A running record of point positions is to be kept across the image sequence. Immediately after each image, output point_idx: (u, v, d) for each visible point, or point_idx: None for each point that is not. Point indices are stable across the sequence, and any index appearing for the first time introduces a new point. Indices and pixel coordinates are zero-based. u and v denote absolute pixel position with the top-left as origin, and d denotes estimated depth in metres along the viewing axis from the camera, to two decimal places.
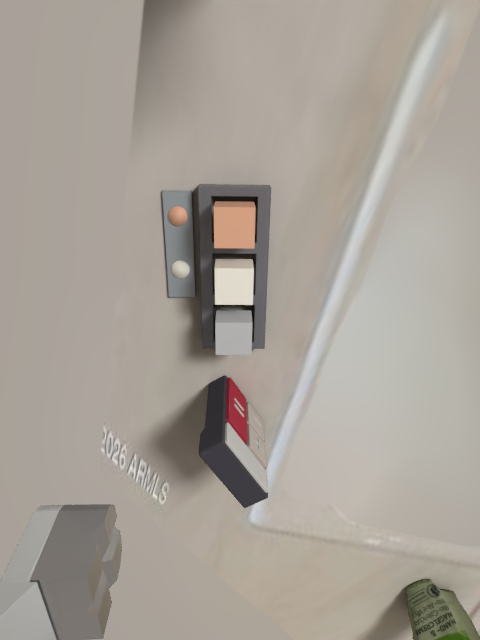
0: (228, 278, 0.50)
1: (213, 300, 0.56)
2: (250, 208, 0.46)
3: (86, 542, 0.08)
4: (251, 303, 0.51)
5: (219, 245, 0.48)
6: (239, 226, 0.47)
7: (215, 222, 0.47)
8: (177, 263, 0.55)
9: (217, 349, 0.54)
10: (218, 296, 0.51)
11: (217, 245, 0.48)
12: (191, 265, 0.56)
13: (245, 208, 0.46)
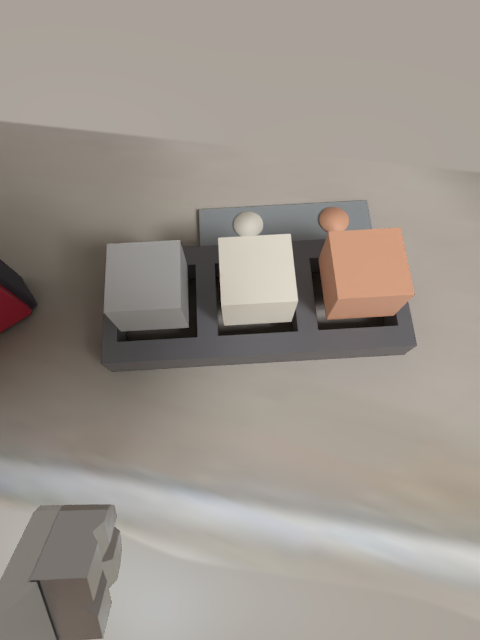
0: (274, 257, 0.26)
1: (203, 265, 0.31)
2: (411, 286, 0.25)
3: (86, 542, 0.08)
4: (224, 302, 0.25)
5: (334, 239, 0.26)
6: (374, 269, 0.26)
7: (374, 231, 0.27)
8: (258, 220, 0.34)
9: (119, 246, 0.26)
10: (234, 242, 0.26)
11: (334, 236, 0.27)
12: None
13: (409, 277, 0.26)
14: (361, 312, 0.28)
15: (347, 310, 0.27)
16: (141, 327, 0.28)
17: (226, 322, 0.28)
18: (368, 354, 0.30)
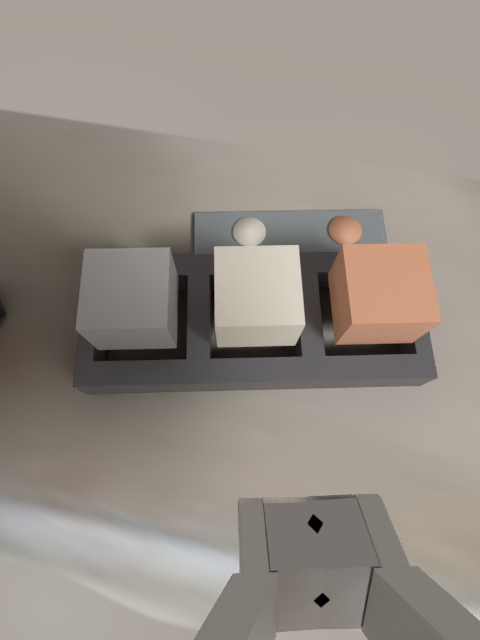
0: (278, 271, 0.22)
1: (197, 276, 0.27)
2: (437, 311, 0.22)
3: (305, 534, 0.08)
4: (218, 323, 0.21)
5: (349, 253, 0.23)
6: (395, 290, 0.22)
7: (395, 246, 0.23)
8: (260, 227, 0.31)
9: (98, 252, 0.23)
10: (233, 253, 0.23)
11: (349, 250, 0.23)
12: None
13: (435, 302, 0.22)
14: (377, 338, 0.24)
15: (360, 336, 0.23)
16: (121, 346, 0.24)
17: (220, 344, 0.24)
18: (380, 384, 0.27)
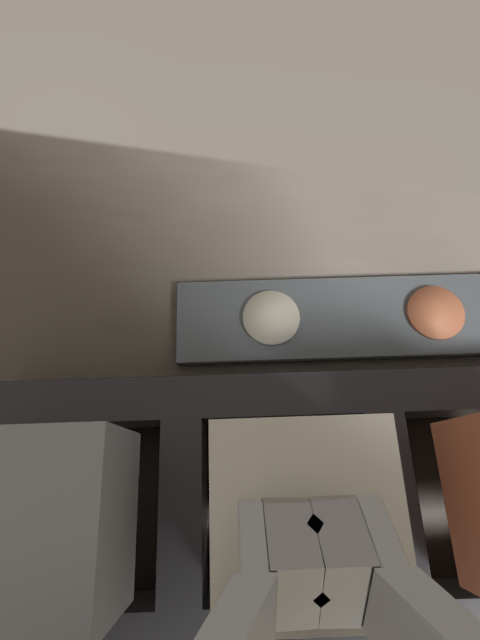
0: (353, 483, 0.10)
1: (177, 422, 0.14)
2: None
3: (305, 534, 0.08)
4: None
5: None
6: None
7: None
8: (290, 308, 0.18)
9: None
10: (251, 435, 0.10)
11: None
12: (286, 351, 0.17)
13: None
14: None
15: None
16: None
17: None
18: None
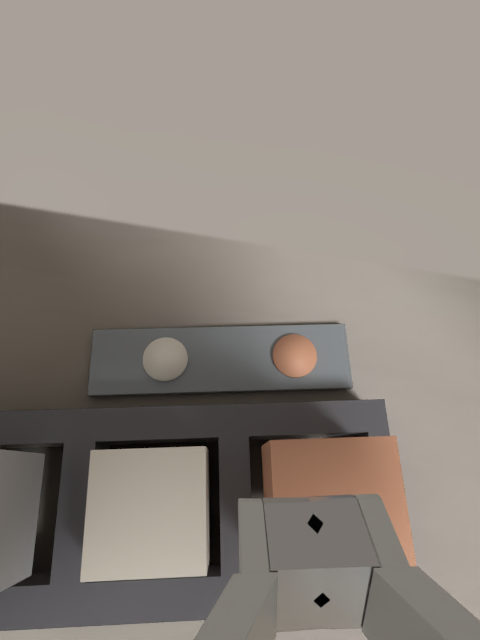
0: (175, 489, 0.16)
1: (77, 444, 0.19)
2: (412, 562, 0.14)
3: (305, 534, 0.08)
4: (85, 576, 0.15)
5: (280, 457, 0.15)
6: None
7: (350, 442, 0.15)
8: (180, 351, 0.23)
9: None
10: (115, 460, 0.17)
11: (279, 450, 0.15)
12: (175, 386, 0.22)
13: (409, 543, 0.14)
14: None
15: None
16: None
17: None
18: None
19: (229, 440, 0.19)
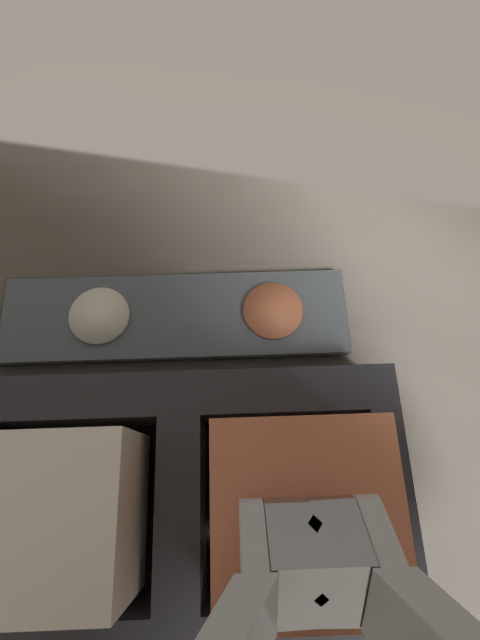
0: (72, 491, 0.11)
1: None
2: None
3: (306, 534, 0.08)
4: None
5: (222, 443, 0.10)
6: None
7: (327, 422, 0.10)
8: (120, 306, 0.17)
9: None
10: None
11: (222, 433, 0.10)
12: (111, 351, 0.17)
13: None
14: None
15: None
16: None
17: None
18: None
19: (172, 420, 0.14)
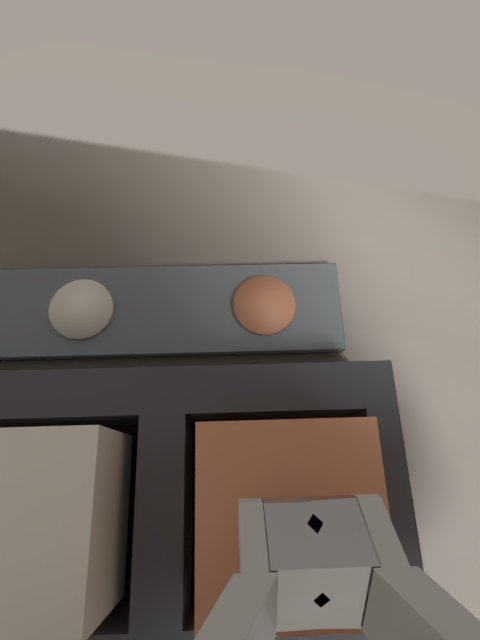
0: (42, 495, 0.10)
1: None
2: None
3: (305, 534, 0.08)
4: None
5: (208, 446, 0.10)
6: None
7: (311, 425, 0.11)
8: (103, 299, 0.16)
9: None
10: None
11: (208, 436, 0.10)
12: (94, 346, 0.16)
13: None
14: None
15: None
16: None
17: None
18: None
19: (155, 419, 0.13)
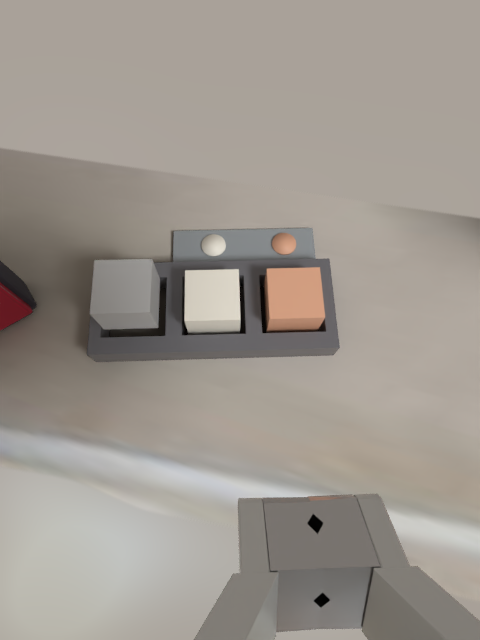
0: (225, 286, 0.36)
1: (173, 277, 0.38)
2: (323, 311, 0.35)
3: (305, 534, 0.08)
4: (186, 318, 0.35)
5: (270, 274, 0.36)
6: (298, 297, 0.35)
7: (300, 269, 0.36)
8: (221, 241, 0.42)
9: (104, 262, 0.34)
10: (197, 274, 0.36)
11: (270, 272, 0.36)
12: (219, 259, 0.41)
13: (322, 305, 0.35)
14: (291, 328, 0.37)
15: (279, 326, 0.37)
16: (119, 326, 0.35)
17: (190, 333, 0.37)
18: (303, 354, 0.38)
19: (249, 276, 0.38)
